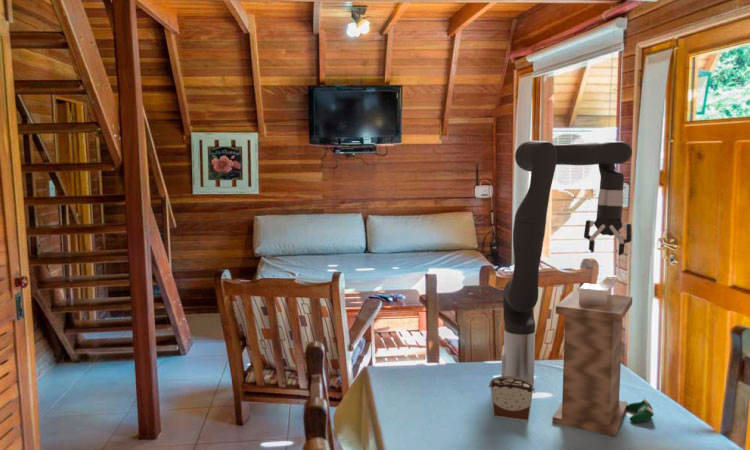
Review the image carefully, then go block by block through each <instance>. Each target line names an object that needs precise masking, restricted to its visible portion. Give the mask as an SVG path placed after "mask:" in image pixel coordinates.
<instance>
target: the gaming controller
mask: <svg viewBox="0 0 750 450" xmlns="http://www.w3.org/2000/svg"><path fill="white" fill-rule="evenodd" d="M626 411H628V412H631V413H632V412H635V414H633V415H632V416H630V418H629V420H630V422H631V423H641V422H646V421H647V420H651V419H652V417H653V416H655V413H654V410H653V407H652V405H651V403H650V401H648V400H647V399H646V398H643V400H641V401H639V402H631V403H629V404H628V406H627V410H626Z"/></svg>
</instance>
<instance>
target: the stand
mask: <svg viewBox="0 0 750 450" xmlns="http://www.w3.org/2000/svg"><path fill="white" fill-rule="evenodd" d="M632 305H633V296H626V295H616V294H611V301H610V302H609V303H608V305H607V306H602V305H594V304H585V303H579V290H578V291H577V290H572V291H571V292H570V293H569V294H568V295H566V296H565V297H564V298H563V299H562V300H561V301H559V303H557V304H556V306H555V314H557V315H564V336H563V337H564V338H563V339H564V340H563V342H564V343H563V365H562V366H563V370H562V371H563V372H562V373H563V374H562V398H561V399H562V401H561V404H560V405H559V406H558V408H557V410H556V411H555V412H554V414H553V415H552V417H551V418H552V419H551V421H552V423H553V424H557V425H562V426H566V427H571V428H575V429H580V430H584V431H589V432H593V433H598V434H603V435H608V436H612V437H617V434H618V433H619V429H620V426H621V424H622V422H623V420H624V417H625V414H626V413H627V411H628V410H627V406H628V405H629V404H628V401H625V400H620V389H621V384H620V383H621V369H622V367H621V364H622V363H621V362H622V347H623V346H622V345H623V344H622V343H623V342H622V341H623V337H622V336H623V319H624V318H625V315H626V314H627V313H628V311H629V309H630V308H631V306H632Z"/></svg>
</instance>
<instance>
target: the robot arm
mask: <svg viewBox="0 0 750 450" xmlns="http://www.w3.org/2000/svg"><path fill="white" fill-rule="evenodd" d="M632 155H633V149H632V147H631V145H630V144H629V143H628V142H626V141H621V140H619V141H618V140H616V141H615V140H614V141H613V140H612V141H610V140H609V141H604V142H603V141H602V142H597V141H595V142H594V141H590V142H576V143H575V142H572V143H564V144H563V143H561V144H554V143H552V142H551V141H545V140H528V141H524V142H523V143H521V144H520V145H518V147H517V149H516V150H515V155H514V159H515V162H516V165H517V166H518V167H519V168H520V169H521V170H523V171H526V172H531V173H530V174H531V175H530V176H531V177H530V182H529V188H528V190H527V192H526V195H525V196H524V198H523V199H522V201H521V203H520V204H519V206H518V208H517V210H516V211H515V215H514V221H513V231H512V245H513V247H512V249H513V259H514V260H513V261H514V266H513V267H514V268H513V274H512V278H511V279H510V280H508V281H507V283H506V284H505V286H504V288H503V296H502V297H503V303H502V305H503V308H502V309H503V312H502V313H503V317H502V318H503V322H504V335H503V336H504V337H503V338H504V339H503V340H504V342H503V343H504V344H503V349H504V350H503V353H502V354H501V371H500V373H501V374H500V375H501V376H516V377H521V378H524V379H527V380H529V381H530V382H532V384H533V386H534V385H535V384H534V383H535V355H536V354H535V352H536V351H535V350H536V322H535V316H534V308H535V307H536V305H537V304H538V303H537V302H538V300H539V275H540V272H539V271H540V264H541V259H542V252H543V246H544V239H545V234H546V226H547V216H548V215H547V214H548V208H549V207H548V206H549V201H550V194H551V189H552V184H553V180H554V176H555V172H556V166H557V165H561V166H562V165H564V166H593V165H597V166H598V171H599V174H600V181H599V192H598V195H597V208H596V219H595V220H590V219H587V220H586V221H585V225H584V232H583V238H584V239H587V240H588V241H589V243H588V250H589V251H590V253H594V252H595V245H596V240H595V239H596V238H597V237H598V236H599V235H602V236H611V237H612V236H615V237H616V238H617V240H618V241H619V244H618V256H622V255H623V254H624V252H625V247H626V246H625V244H627V243H630V242H631V241H632V236H633V235H632V228H633V227H632V226H633V225H632V223H631V222H629V223H623V222H622V217H623V216H622V215H623V205H624V183H625V175H624V173H623V172H621V171H620V170H617V169H616V165H621V164H625V163H626V162H628V161H629V160H630V159H631V157H632ZM593 226H595V228H596V230H595V231H594V233H593V234H592V235H590V230H591V228H592V227H593ZM621 228H623V229H624V231H626V238H625V237H624V236H623V235H622V234H621V232H620V230H621ZM534 387H535V386H534Z"/></svg>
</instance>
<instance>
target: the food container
mask: <svg viewBox="0 0 750 450" xmlns="http://www.w3.org/2000/svg"><path fill="white" fill-rule="evenodd" d="M488 384H489V385H488V389H489V388H490V391H491V405H492V412H493V413H492V415H493V417H496V418H503V419H509V420H517V421H524V422H525V421H526V422H529V421H530V413H531V404H532V400H533V393H534V394H536V391H535V386H533V384H532V382H530V381H529V380H527V379H524V378H521V377H516V376H497V377H494V378H492V379H491V380H490V381H489V383H488Z"/></svg>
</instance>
